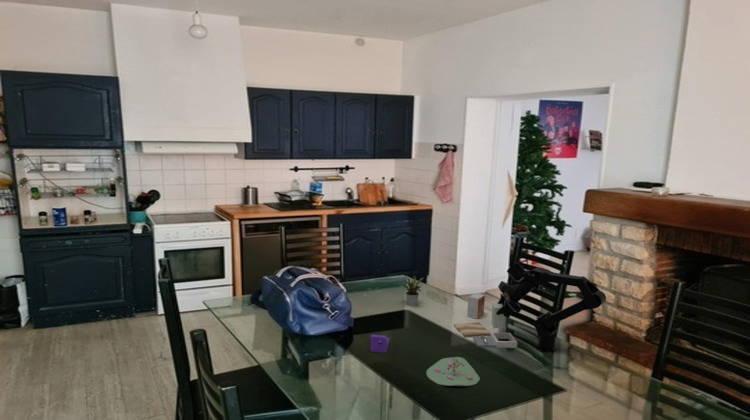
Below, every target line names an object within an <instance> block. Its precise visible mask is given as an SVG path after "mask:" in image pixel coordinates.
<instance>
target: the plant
mask: <svg viewBox="0 0 750 420" xmlns="http://www.w3.org/2000/svg"><path fill="white" fill-rule="evenodd" d="M425 373H426V374H425V375H426V376H427V377H428V379H429V380H431V381H432V382H433V383H435V384H437V385H439V386H447V387H449V386H450V387H451V386H452V387H470V386H474V385H477V384H478V383H479V381H480V379H481V378H480V376H479V375H478V373H477V372H476V370H475V369H474V368H473V366H471V365H470V363H469V362H468V361H467V360H466V358H464V357H460V356H458V355H455V356H453V357H445V358H441V359H439V360H438V361H436V362H435V363H434V364H433V365H431V366H430V367H429V368H428V369H426V372H425Z"/></svg>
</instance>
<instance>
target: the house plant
mask: <svg viewBox="0 0 750 420" xmlns="http://www.w3.org/2000/svg"><path fill="white" fill-rule="evenodd" d="M405 277H406V278H405V279H404V280H402V281H401V282H404V284H403V285H402V287H403V288H404V289H405V300H406V306H409V307H415V306H417V305H418V299H419V294H420V293H419V292H421V291H422V290H421V289H420V288H422V286H420V285H419V283H421V282H422V280H424V277H421V278H420V279H419V280H418V281H417V280H416V279H417V276H413V277H412V281H411V280H410V277H409V276H408V275H405ZM416 281H417V282H416ZM418 291H419V292H418Z"/></svg>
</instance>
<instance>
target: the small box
mask: <svg viewBox="0 0 750 420" xmlns="http://www.w3.org/2000/svg"><path fill="white" fill-rule="evenodd" d="M485 298H486V295H485V294H481V293H477V292H474V293H473V294H472V295H469V296H468V298H467V299H468V300H467V313H466V314H467V315H466V316H467V317H468V318H473V319H475V320H476V319H479V318H480V317H483V316H484V313H485V312H484V311H485V301H486V299H485Z"/></svg>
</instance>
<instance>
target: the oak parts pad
mask: <svg viewBox="0 0 750 420" xmlns="http://www.w3.org/2000/svg"><path fill="white" fill-rule="evenodd" d="M453 327H454V328H455V329H456V330H457V331H458V332H459V333H460V334H461V335H462V336H463V337H464V338H473V336H479V337H481V335H484V337H490V333H491V332H490V330H488V329H487V328H486V327H485V326H484V325H482V323H481V322H466V323H465V322H464V323H463V322H462V323H453Z"/></svg>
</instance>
